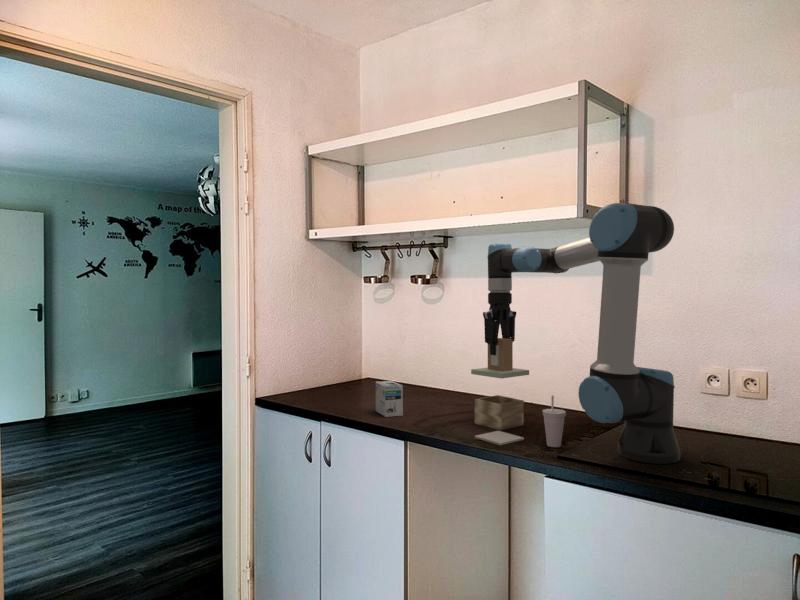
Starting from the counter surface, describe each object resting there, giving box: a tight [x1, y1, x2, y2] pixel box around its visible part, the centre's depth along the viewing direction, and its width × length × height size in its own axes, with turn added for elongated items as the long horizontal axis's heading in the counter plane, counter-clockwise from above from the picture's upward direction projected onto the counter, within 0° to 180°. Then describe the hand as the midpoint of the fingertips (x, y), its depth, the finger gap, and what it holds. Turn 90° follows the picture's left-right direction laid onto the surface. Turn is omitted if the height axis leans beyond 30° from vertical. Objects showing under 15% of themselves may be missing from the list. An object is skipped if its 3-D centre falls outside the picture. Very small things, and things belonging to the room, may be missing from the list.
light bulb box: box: [375, 380, 404, 418], centre depth 197 cm, size 11×7×11 cm, turn 22°
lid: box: [470, 337, 530, 379], centre depth 181 cm, size 13×13×12 cm
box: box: [474, 394, 525, 431], centre depth 182 cm, size 11×11×8 cm
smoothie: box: [541, 395, 567, 448], centre depth 158 cm, size 6×6×14 cm
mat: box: [474, 430, 525, 446], centre depth 165 cm, size 10×10×1 cm
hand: (500, 364), depth 181 cm, fingers closed on lid, 4 cm apart
